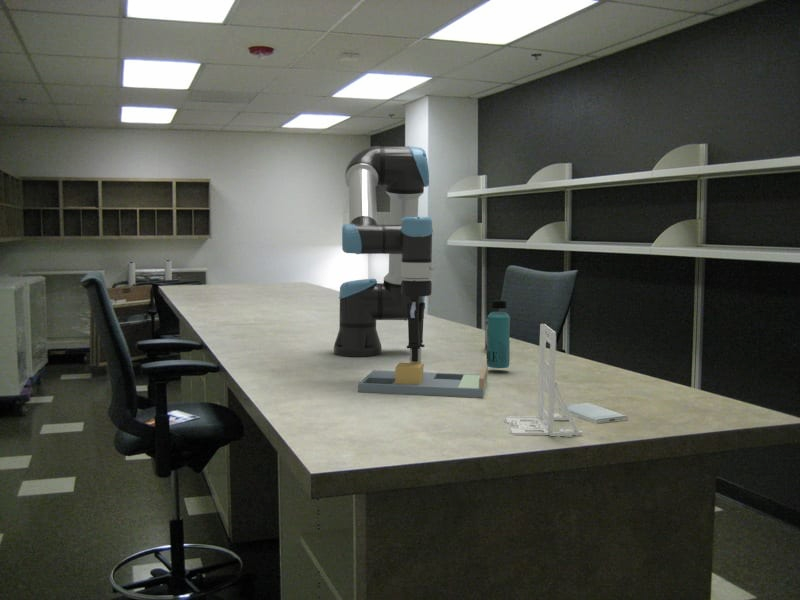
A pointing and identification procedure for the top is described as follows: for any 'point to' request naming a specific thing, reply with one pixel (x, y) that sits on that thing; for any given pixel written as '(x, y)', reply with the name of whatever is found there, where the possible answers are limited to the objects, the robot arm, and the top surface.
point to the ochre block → (409, 373)
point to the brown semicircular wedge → (486, 333)
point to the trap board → (427, 384)
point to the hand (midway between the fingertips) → (415, 373)
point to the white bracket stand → (546, 385)
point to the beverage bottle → (498, 337)
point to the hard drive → (594, 413)
